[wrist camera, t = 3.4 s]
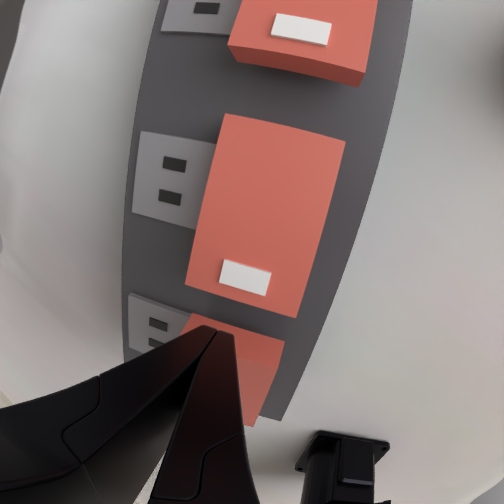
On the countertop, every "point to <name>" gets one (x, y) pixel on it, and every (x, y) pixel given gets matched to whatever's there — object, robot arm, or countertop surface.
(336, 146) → the plate
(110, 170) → the countertop surface
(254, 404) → the red rectangular block
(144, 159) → the power strip
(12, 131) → the countertop surface
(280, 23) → the rocker
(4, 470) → the robot arm
